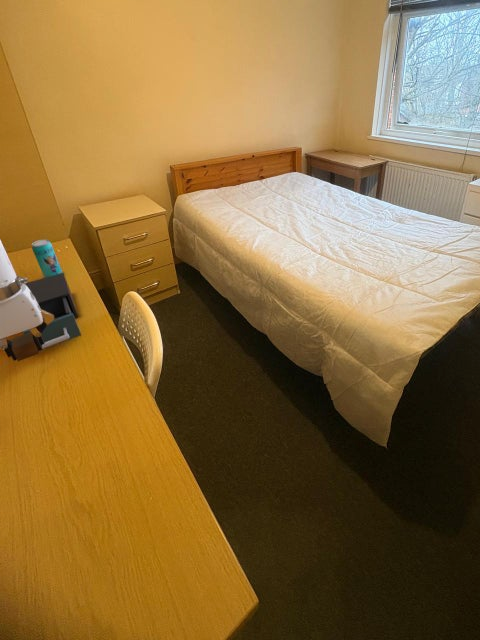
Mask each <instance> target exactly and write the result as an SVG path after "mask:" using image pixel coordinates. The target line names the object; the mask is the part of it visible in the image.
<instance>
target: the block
mask: <svg viewBox="0 0 480 640" xmlns="http://www.w3.org/2000/svg"><path fill="white" fill-rule="evenodd" d="M10 341H11V345H12V347H11V349H12V351H13V353H14V355H15V357H16V359H17V360H16V361H17V362H21V361H24V360H26V359H29V358H31V357H34V356H37V355H39V354H40V351H39V350H38V348H37V346H36V344H35V342H34V339H33V334H32V333H31V332H29V333H26V334H20V335H18V336H15V337H12V338H11V339H10Z"/></svg>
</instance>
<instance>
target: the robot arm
mask: <svg viewBox="0 0 480 640" xmlns="http://www.w3.org/2000/svg"><path fill="white" fill-rule="evenodd" d="M28 282H29V279H28V277H27V276H23V277H22V276H18V274H17V273H16V271H15V268H14V266H13V265H12V262H11V260H10V258H9V256H8V253H7V251H6V248H5V247H4V245H3V243H2V240H1V239H0V350H3V351H4V353H5V355H6V356H7V358H11V359H12V361H13V362H15V361H17V359H16V357H15V355H14V353H13V351H12V349H11V347H12V345H11V339H8V337H10V336H13V335H17V334H19V333H23V331H25V330H28V329H29V330H30V331H31V333H32V334H33V339H34V342H35V344H36V346H37V348H38V350H39V352H42V351H44V350H43V349H42V345H43V344H45V342H44V339H43V337H42V335H41V333H42V332H43V331H44V329H45V328H46V327H47V325H48V324H49V323H51V322H52V321H53V320H54V315H53V314H51V313H49V312H46V311H44V310H42V309H40V306H39V304H38V303H37V301H36V299H35V297H34V295H33V294H32V292H31V291H30V289H29V288H28V287H27V286H26V285H25V283H28ZM42 318H44V319H42Z"/></svg>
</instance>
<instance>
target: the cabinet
mask: <svg viewBox="0 0 480 640" xmlns="http://www.w3.org/2000/svg"><path fill="white" fill-rule="evenodd" d="M24 284H25V285H26V286H27V287H28V288H29V289H30V291H31V292H32V294H33V295H34V297H35V299H36V301H37V303H38V304H39V305H40V304H43V303H46V302H50V301H53V300H56V299H59V298H62V297H66V299H67V302H68V304H69V307H70V309H71V312H72V313H73V315H74V318H75V319H78V318H79V313H78V311H77V306H76V303H75V301H74V297H73V293H72V292H71V289H70V286H69V284H68V281H67V279H66V275H65V273H64V272H62V273H60V274H57V275H53V276H50V277H46V278H45V277H42V278H40V279H35V280H32V281H28V282H26V283H24Z"/></svg>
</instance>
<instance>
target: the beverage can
mask: <svg viewBox="0 0 480 640" xmlns="http://www.w3.org/2000/svg"><path fill="white" fill-rule="evenodd" d="M31 246H32V247H31V250H32V252H33V254H34V257H35V259H36V261H37V262H36V263H37V264H38V266H39V268H40V271H41V273H42V276H43V278H46V277H50V276H53V275H57V274H60V273H63V270H62V268H61V266H60V265H61V264H60V262H59V260H58V257H57V255H56V253H55V250H54V246H53V244H52V242H50V240H49V239H45V238H44V239H38V240H36V241H34V242H32V243H31Z"/></svg>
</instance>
